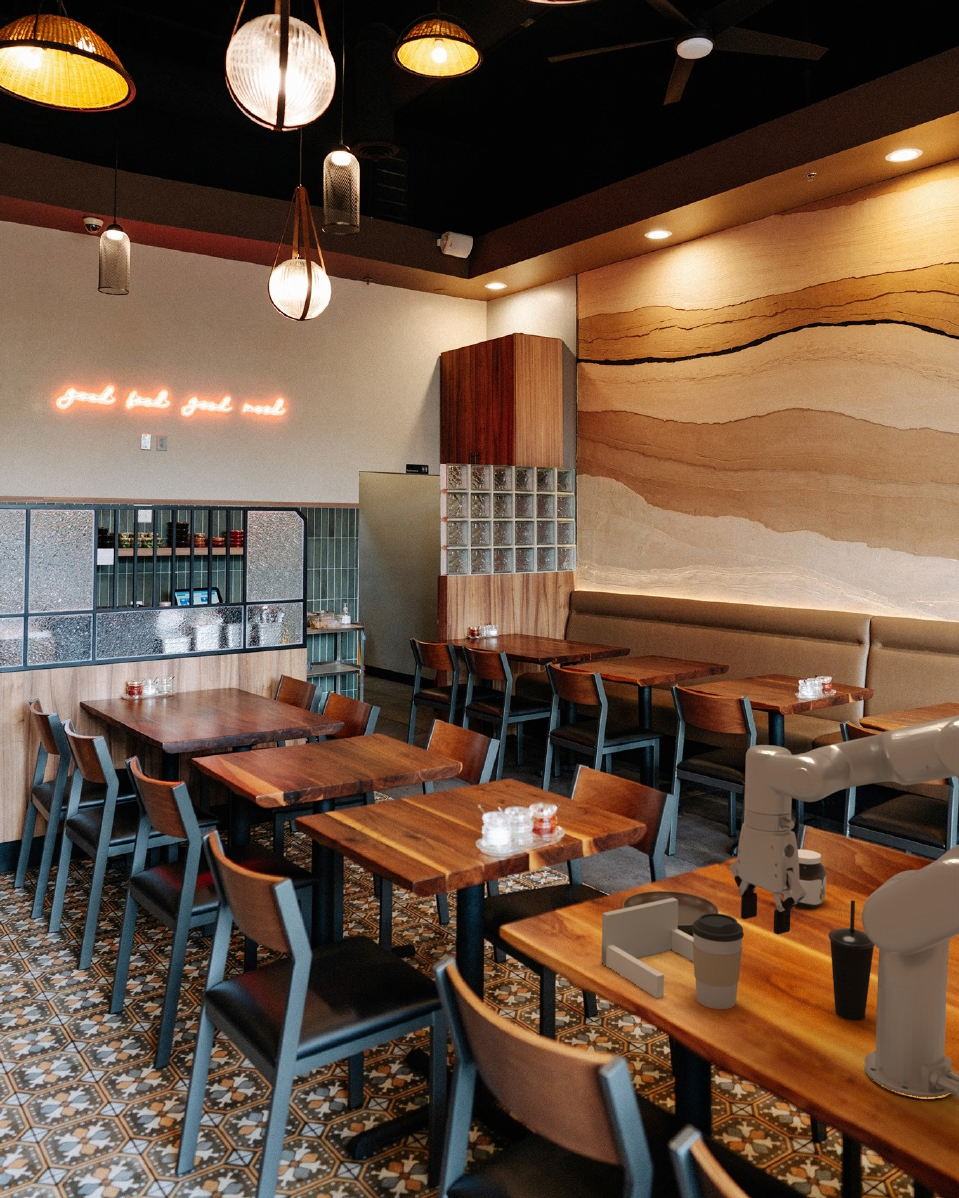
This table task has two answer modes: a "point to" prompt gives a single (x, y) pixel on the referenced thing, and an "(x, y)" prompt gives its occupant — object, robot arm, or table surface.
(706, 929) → the coffee cup
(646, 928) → the box
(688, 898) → the plant saucer
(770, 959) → the table surface
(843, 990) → the drinking cup
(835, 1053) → the table surface
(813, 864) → the spread jar
